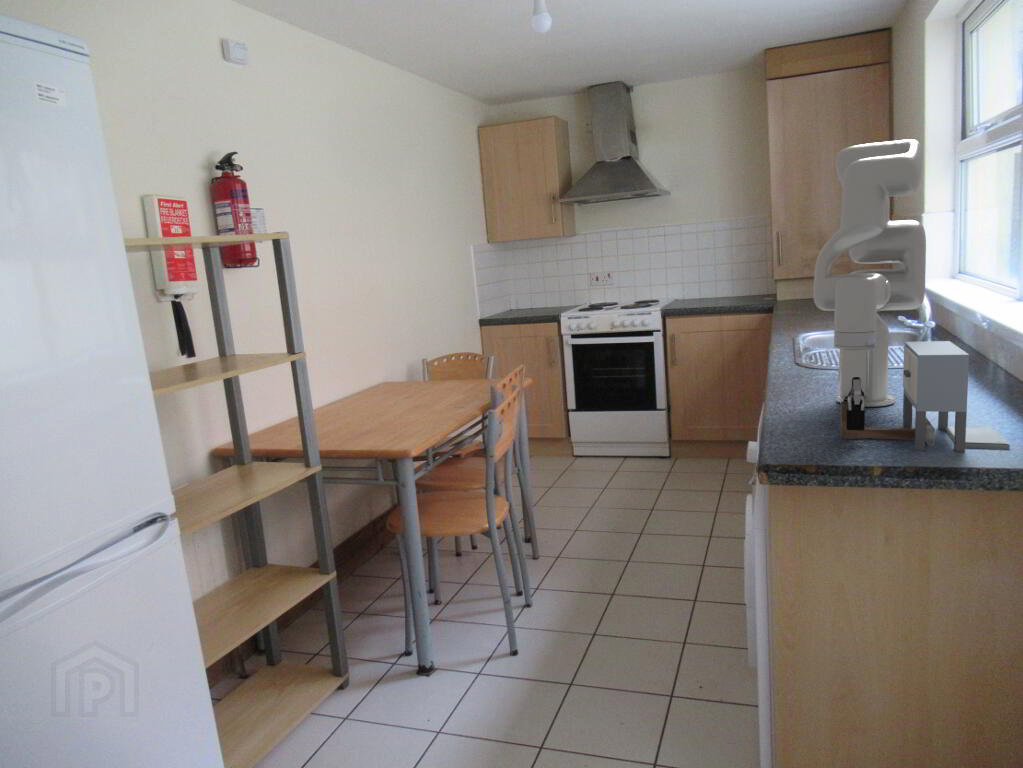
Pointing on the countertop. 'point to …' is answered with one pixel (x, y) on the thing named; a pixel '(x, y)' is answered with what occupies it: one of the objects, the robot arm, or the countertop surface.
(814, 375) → the countertop surface
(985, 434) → the hard drive
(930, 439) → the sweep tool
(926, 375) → the cabinet
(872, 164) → the robot arm
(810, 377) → the countertop surface
